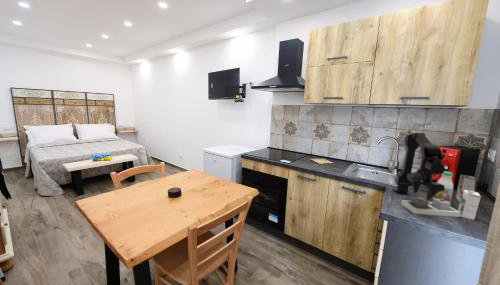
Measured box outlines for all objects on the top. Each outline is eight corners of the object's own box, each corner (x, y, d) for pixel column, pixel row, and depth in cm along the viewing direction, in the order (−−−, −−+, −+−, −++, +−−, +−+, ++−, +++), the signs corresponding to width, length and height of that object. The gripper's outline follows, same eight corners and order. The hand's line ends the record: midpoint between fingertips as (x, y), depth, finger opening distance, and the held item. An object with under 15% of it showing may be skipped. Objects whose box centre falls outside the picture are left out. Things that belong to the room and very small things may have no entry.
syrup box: (456, 213, 112) (462, 189, 110) (472, 217, 109) (478, 192, 106) (458, 217, 108) (464, 192, 106) (474, 221, 104) (481, 195, 102)
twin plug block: (431, 208, 115) (433, 197, 114) (440, 208, 115) (443, 197, 114) (438, 212, 110) (441, 201, 109) (448, 213, 110) (451, 201, 109)
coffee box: (472, 205, 125) (479, 180, 122) (458, 201, 128) (464, 177, 125) (468, 199, 132) (474, 176, 129) (454, 197, 136) (460, 174, 133)
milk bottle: (432, 199, 130) (439, 169, 127) (449, 203, 125) (456, 172, 122) (431, 202, 125) (438, 171, 122) (449, 207, 120) (456, 175, 116)
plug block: (419, 207, 116) (421, 196, 115) (426, 211, 111) (429, 200, 110) (410, 206, 116) (412, 195, 115) (417, 211, 111) (419, 199, 110)
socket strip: (400, 205, 119) (401, 200, 119) (441, 208, 118) (442, 202, 117) (414, 215, 108) (415, 209, 108) (459, 218, 107) (461, 212, 107)
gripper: (399, 163, 119) (395, 188, 121) (425, 173, 100) (419, 202, 103) (419, 164, 118) (414, 189, 121) (448, 175, 100) (442, 204, 102)
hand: (421, 196), depth 112 cm, fingers open, 9 cm apart
